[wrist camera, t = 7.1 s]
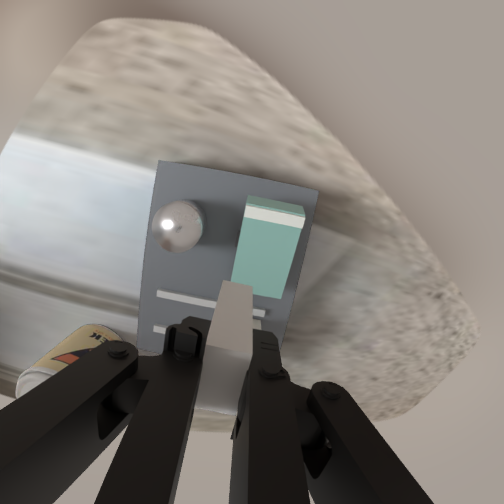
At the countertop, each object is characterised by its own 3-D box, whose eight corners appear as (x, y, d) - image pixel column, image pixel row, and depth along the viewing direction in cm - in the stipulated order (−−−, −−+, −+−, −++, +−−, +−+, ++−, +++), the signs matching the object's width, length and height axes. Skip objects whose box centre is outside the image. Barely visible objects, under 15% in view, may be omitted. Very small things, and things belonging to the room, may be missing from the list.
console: (147, 329, 32) (134, 352, 27) (169, 162, 28) (156, 159, 24) (270, 353, 33) (273, 379, 28) (309, 189, 29) (321, 191, 24)
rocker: (231, 277, 26) (228, 291, 24) (247, 194, 23) (246, 204, 21) (279, 286, 26) (280, 301, 24) (302, 206, 23) (305, 216, 21)
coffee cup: (155, 367, 33) (123, 441, 21) (103, 396, 34) (66, 462, 22) (100, 301, 31) (42, 357, 19) (53, 339, 32) (-1, 392, 20)
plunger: (159, 239, 25) (148, 247, 23) (165, 195, 25) (155, 198, 22) (202, 248, 26) (196, 257, 23) (210, 203, 25) (205, 207, 22)
